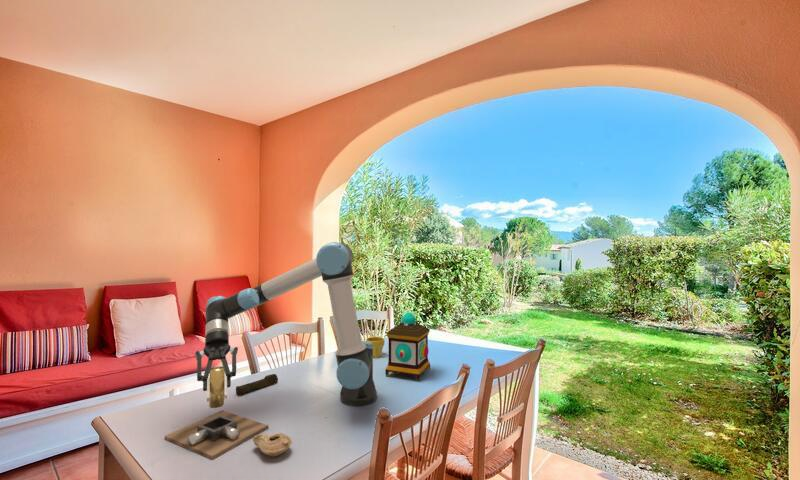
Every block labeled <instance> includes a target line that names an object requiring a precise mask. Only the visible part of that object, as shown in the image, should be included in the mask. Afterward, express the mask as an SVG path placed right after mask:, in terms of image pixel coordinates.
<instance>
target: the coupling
mask: <svg viewBox="0 0 800 480" xmlns="http://www.w3.org/2000/svg"><path fill="white" fill-rule="evenodd" d="M224 376H226V375H225V367H223V365H222V366H214V367H211V369H210V373H209V378H210V399H209V401H208V403H209V404H208V407H209V408H210V409H216V408H217V409H218V408H221V407H223V406H224V405H225V399H224Z"/></svg>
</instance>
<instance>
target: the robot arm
mask: <svg viewBox="0 0 800 480" xmlns="http://www.w3.org/2000/svg"><path fill="white" fill-rule="evenodd" d="M315 257H316V258H314V259H311V260H310V261H309V260H308V261H307V262H305V263H303V264H301V265H299V266H297V267H295V268H293V269H291V270H287V271H286V272H284V273H282V274H280V275H278V276H276V277H273V278H271V279H270V280H266V281H265V282H263V283H261V284H258V285H256V286H254V287H252V288H251V287H250V288H249V287H248V288H245V289H243V290H240V291H238V292H236V293H234V294H233V295H230V296H228V297H225V296H223V295H218V296H212V297H211V298H209V299H208V300H207V301H206V305H205V332H204V334H205V340H204V341H205V342H204V347H203V349H202V350H201V351H199V350H196V351H195V359H196V362H197V363H196V364H197V365H196V368H197V369H196V371H197V372H196V381H197V382H202V391H203V392H206V402H208V403H209V399H210V369H211V368H212V365H213V362H214V361H216V360H219V361H221V365H222V367H225V376H224V400H226V399H228V388H231V385H232V384H231V383H232V381H231V380H232V379H231V378H233V377H236V376H237V354H238V351H239V350H238V349H239V348H238V346H235V347H231V345H230V342H229V339H230V338H229V335H230V334H229V332H230V331H229V319H231V318H234V317H235V316H237V315H240V314H242V313H245V312H246V311H250V310H252V309H254V308H255V307H259V306H261V305H263V304H265V303H267V302H269V301H271V300H273V299H275V298H277V297H280V296H282V295H284V294H287V292H290V291H292V290H294V289H296V288H299V287H300V286H302V285H305V284H308V283H309V282H311V281H313V280H316V279H318V278H320V277H321V278H322V282H324V283H325V284H326V285H327V289H328V294H329V299H330V305H331V312H332V316H333V322H334V328H335V334H336V339H337V345H338V348H337V350H336V351H335V357H336V363H337V368H336V379H337V381H338V383H339V385H341V388H340V392H339V400H340V402H341V403H342V404H345V405H348V406H352V407H353V406H355V407H356V406H357V407H359V406H366V405H369V404H370V405H371V404H372V403H375V401H376V400H377V398H378V391H377V389H376V385H375V382H374V370H373V369H374V368H373V367H374V358H373V344H372V343H371V342H367V341H366V340H365V341H364V340H363V341H362V338H361V333H360V328H359V322H358V321H359V320H358V316H357V311H356V305H355V300H354V294H353V288H352V287H353V286H352V283H351V282H352V281H351V280H352V279H353V277H354V271H353V270H354V269H353V266H352V264H353V261H354V254H353V250H352V248H351V247H350V246H349V245H347V244H346V243H343V242H337V241H333V242H328V243H326V244H324V245H322V247H320V249H319V250H318V252H317V254H316V256H315ZM229 352H230V355H231V370H230V367H229V363H228V360H227V357H226V356H227V355H228V353H229ZM204 355H205V356H206V357H207V358H208V359H207V363H206V366H205V370H204V373H203V375H202V358H203V357H204Z"/></svg>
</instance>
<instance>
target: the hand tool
mask: <svg viewBox="0 0 800 480" xmlns="http://www.w3.org/2000/svg"><path fill="white" fill-rule="evenodd" d="M278 382H279V378H278V375H277V374H276V373H272V374H271V373H270V374H268V375H265V376H264V378H262V379H259V380H255V381H253V382H247V383H245V384H242V385H239V386H238V385H237V386H236V387H235V393H236V395H237V396H239V397H240V396H241V395H245V394H247V393H249V392H252V391H255V390H258V389H261V388H264V387H265V388H266V387H272V386H274V385H276V384H277V383H278Z"/></svg>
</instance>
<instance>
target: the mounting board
mask: <svg viewBox="0 0 800 480" xmlns="http://www.w3.org/2000/svg"><path fill="white" fill-rule="evenodd" d="M220 415H221V416H224V417H227V418H230V419H233V420H236V421H237V429H238V430H240V436H239V438H238V439H236V440H233V439H230V438H227V437H225V436H224V437H222V438H220V439H218V440H217V441H215V442H213V441H211V440H208V439H205V440H203V441H201V442H199V443H197V444H195V445H193V446H190V445H189V444H188V441H187V439H188V437H189V436H190V435H193V434H195V433H197V426H198V425H200V424H203V423H205V422H207V421H209V420H212V419H214V418H216V417H218V416H220ZM220 427H221V426H219V427H217V428H215V429H214V430H216V429H218V428H220ZM269 427H270V426H269V424H265V423H264V422H263V423H262V422H260V421H256V420H255V419H254V420H253V419H251V418H247V417H244V416H242V415H237V414H234V413H232V412H229V411H226V410H223V409H222V410H219V411H218V412H215V413H212V414H211V415H208V416H206V417H204V418H202V419H199V420H197V421H196V422H193V423H191V424H188V425H186V426H184V427H181V428H180V429H177V430H174V431H172V432H171V433H168V434H166V435H164V440H166V441H168V442H171V443H173V444H175V445H178V446H180V447H183V448H184V449H187V450H189V451H192V452H194V453H196V454H198V455H200V456H203V457H205V458H207V459H209V460H215V459H216V458H218V457H220V456H222V455H224V454H225V453H227V452H228V451H230V450H232V449H234V448H235V447H236V448H237V447H238V446H240V445H241V444H243V443H245V442H247V441H248V440H250V439H253V438H254V437H255V436H256V435H260V434H261V433H263V432H265V431H266V430H268V429H269Z"/></svg>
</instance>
